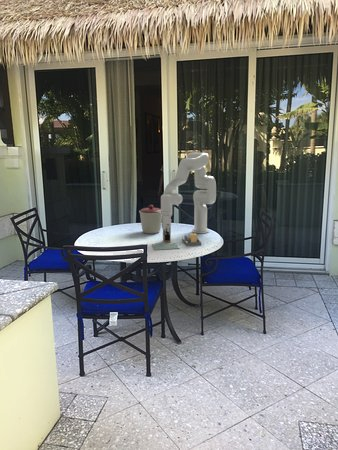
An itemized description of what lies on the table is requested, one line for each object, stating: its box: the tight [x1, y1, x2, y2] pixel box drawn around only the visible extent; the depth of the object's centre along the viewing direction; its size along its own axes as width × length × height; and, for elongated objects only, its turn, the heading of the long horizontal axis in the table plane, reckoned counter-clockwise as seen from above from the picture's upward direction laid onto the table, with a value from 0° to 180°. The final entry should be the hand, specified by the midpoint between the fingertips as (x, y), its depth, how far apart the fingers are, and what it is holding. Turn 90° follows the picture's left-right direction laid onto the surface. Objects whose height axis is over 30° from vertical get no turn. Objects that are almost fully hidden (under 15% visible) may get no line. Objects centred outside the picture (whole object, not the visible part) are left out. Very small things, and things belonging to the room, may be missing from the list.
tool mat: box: [151, 242, 180, 251], centre depth 233 cm, size 12×16×1 cm
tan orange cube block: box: [189, 232, 198, 242], centre depth 238 cm, size 4×4×5 cm
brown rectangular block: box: [162, 229, 172, 243], centre depth 245 cm, size 5×5×9 cm
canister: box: [138, 204, 162, 235], centre depth 271 cm, size 18×18×21 cm
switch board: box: [181, 235, 202, 247], centre depth 243 cm, size 14×10×4 cm
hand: (166, 238), depth 246 cm, fingers closed on brown rectangular block, 4 cm apart
